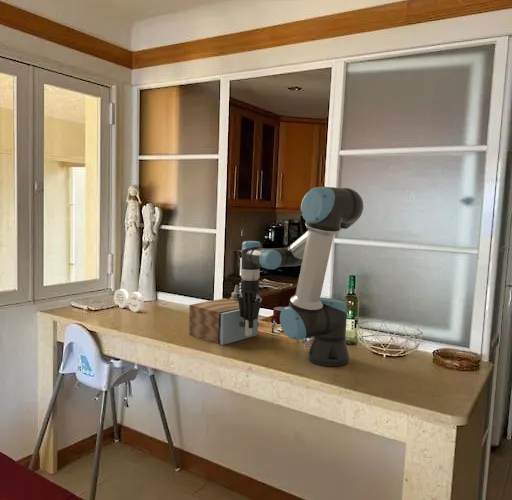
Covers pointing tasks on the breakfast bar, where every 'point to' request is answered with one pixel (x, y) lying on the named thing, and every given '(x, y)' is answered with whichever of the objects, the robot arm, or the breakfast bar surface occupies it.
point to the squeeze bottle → (235, 294)
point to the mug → (276, 314)
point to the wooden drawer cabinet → (209, 318)
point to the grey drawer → (234, 327)
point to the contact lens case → (129, 300)
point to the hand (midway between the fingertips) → (248, 335)
